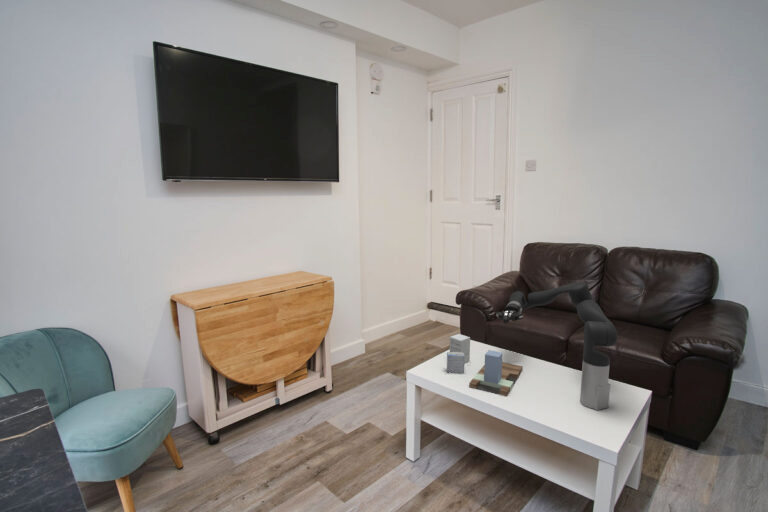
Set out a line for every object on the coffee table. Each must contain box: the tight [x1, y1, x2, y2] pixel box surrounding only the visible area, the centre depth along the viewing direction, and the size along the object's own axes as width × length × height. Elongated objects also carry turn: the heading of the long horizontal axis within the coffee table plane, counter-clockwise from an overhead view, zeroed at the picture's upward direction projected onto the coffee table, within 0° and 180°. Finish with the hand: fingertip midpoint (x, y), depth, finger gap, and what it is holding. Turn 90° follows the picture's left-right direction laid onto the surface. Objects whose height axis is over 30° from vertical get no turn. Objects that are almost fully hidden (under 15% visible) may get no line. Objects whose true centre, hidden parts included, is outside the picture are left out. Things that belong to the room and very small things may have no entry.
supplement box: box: [449, 333, 471, 364], centre depth 200 cm, size 7×7×13 cm
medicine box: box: [446, 351, 465, 374], centre depth 188 cm, size 8×4×9 cm, turn 84°
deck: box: [468, 361, 524, 397], centre depth 181 cm, size 30×16×2 cm, turn 150°
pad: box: [472, 373, 514, 392], centre depth 175 cm, size 6×16×2 cm, turn 60°
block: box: [483, 349, 504, 384], centre depth 174 cm, size 6×6×12 cm
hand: (505, 321), depth 186 cm, fingers closed
